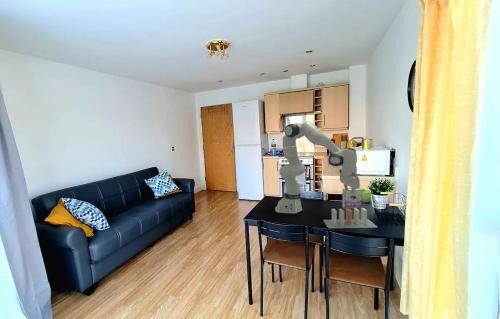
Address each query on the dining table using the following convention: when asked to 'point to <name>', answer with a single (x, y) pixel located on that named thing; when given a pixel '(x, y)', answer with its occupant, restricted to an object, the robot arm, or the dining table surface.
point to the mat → (346, 225)
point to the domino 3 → (348, 216)
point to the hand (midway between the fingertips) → (349, 191)
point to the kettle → (366, 196)
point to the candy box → (352, 199)
